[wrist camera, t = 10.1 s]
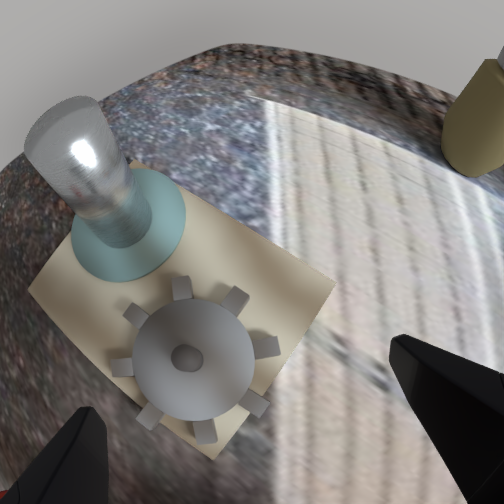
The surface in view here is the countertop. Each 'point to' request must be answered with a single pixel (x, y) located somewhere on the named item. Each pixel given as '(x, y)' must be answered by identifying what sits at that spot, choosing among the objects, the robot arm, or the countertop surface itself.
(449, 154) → the squeeze bottle
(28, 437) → the countertop surface
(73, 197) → the axle
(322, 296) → the board
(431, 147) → the countertop surface
